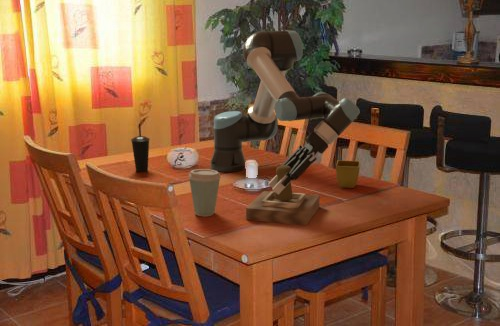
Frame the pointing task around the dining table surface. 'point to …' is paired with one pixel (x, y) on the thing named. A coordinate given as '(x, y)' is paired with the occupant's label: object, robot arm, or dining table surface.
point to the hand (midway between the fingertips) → (273, 189)
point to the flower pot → (347, 173)
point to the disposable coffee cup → (204, 190)
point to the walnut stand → (283, 208)
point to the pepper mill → (287, 191)
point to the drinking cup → (140, 152)
